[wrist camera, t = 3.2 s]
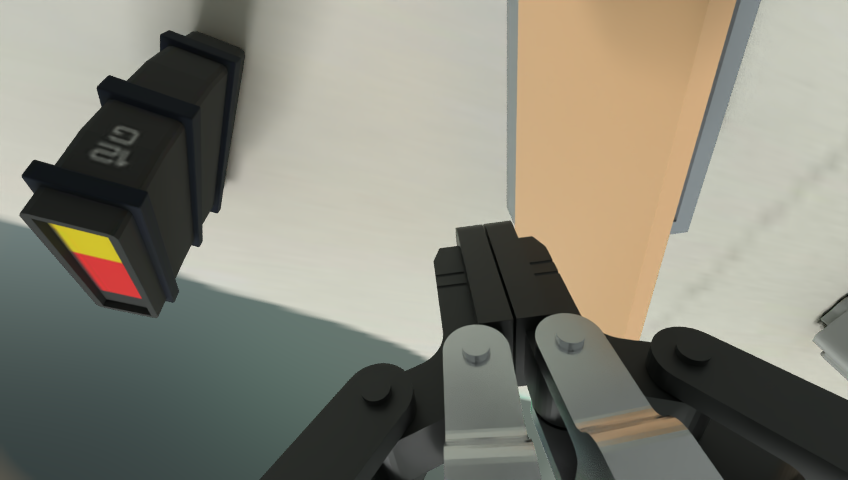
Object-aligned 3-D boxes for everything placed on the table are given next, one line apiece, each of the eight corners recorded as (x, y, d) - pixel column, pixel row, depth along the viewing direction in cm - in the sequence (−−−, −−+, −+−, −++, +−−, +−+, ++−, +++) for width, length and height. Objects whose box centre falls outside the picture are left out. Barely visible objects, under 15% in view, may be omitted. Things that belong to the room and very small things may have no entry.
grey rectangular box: (507, -173, 20) (544, -207, 16) (732, -206, 20) (840, -252, 15) (507, 207, 33) (526, 253, 28) (644, 189, 33) (687, 232, 28)
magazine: (255, -2, 22) (124, 234, 15) (247, 148, 33) (169, 329, 26) (180, -34, 21) (-1, 203, 14) (197, 132, 32) (100, 315, 25)
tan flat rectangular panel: (541, -207, 16) (521, -205, 15) (854, -414, 7) (813, -413, 7) (525, 253, 28) (514, 256, 28) (625, 387, 20) (610, 392, 20)
